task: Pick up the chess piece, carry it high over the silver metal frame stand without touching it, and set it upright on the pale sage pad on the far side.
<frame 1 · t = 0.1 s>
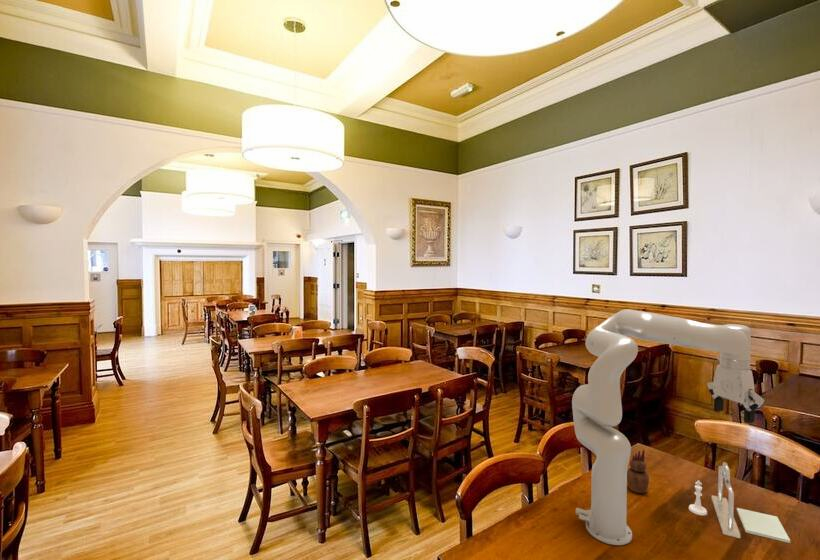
hand: (733, 416, 129), 31 cm above the table, tool pointing down, fingers open, 9 cm apart
chess piece: (697, 511, 131), on the table
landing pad: (761, 525, 123), on the table
silver metal frame stand: (724, 516, 128), on the table
wooden figurine: (637, 491, 143), on the table
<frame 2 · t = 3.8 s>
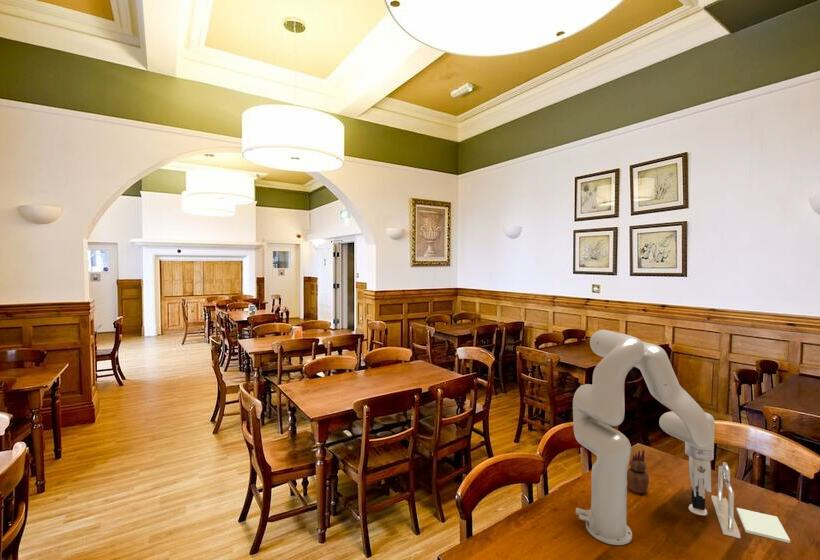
hand: (698, 505, 131), 2 cm above the table, tool pointing down, fingers closed on chess piece
chess piece: (697, 511, 131), on the table, touching gripper
everything else where it was.
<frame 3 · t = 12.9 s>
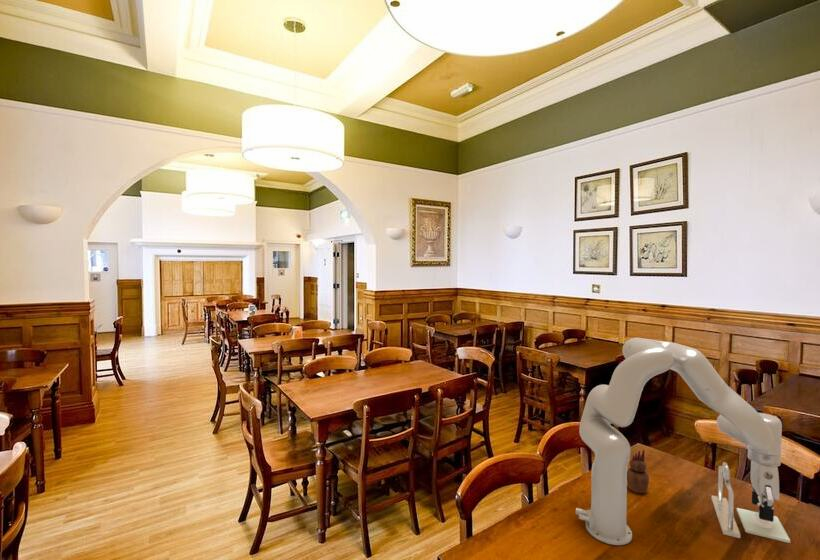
hand: (762, 511, 123), 4 cm above the table, tool pointing down, fingers open, 7 cm apart
chess piece: (761, 523, 123), point 1 cm above the table, touching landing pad
everything else where it was.
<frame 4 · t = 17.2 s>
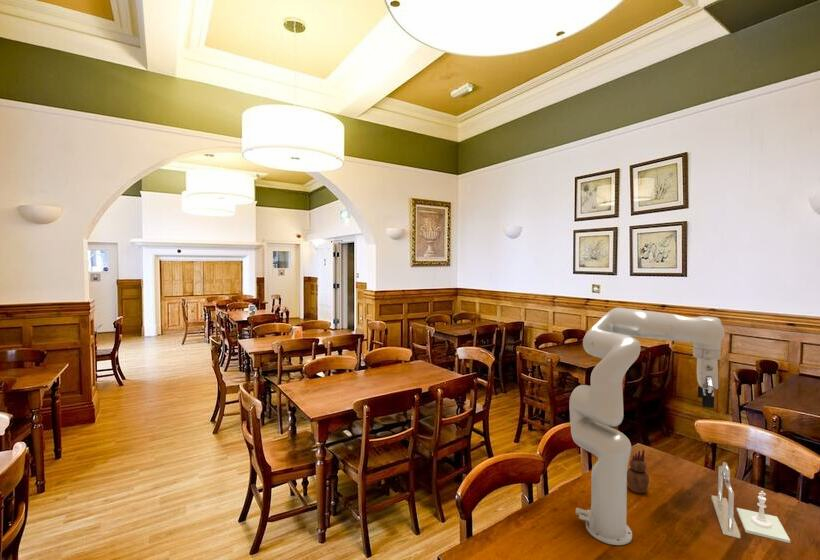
hand: (705, 402, 138), 32 cm above the table, tool pointing down, fingers open, 9 cm apart
nothing on the table moved.
at the end: chess piece inside the target area (0.2 cm from its centre), point 0.6 cm above the table; chess piece tilted 0°; chess piece touching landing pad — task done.
